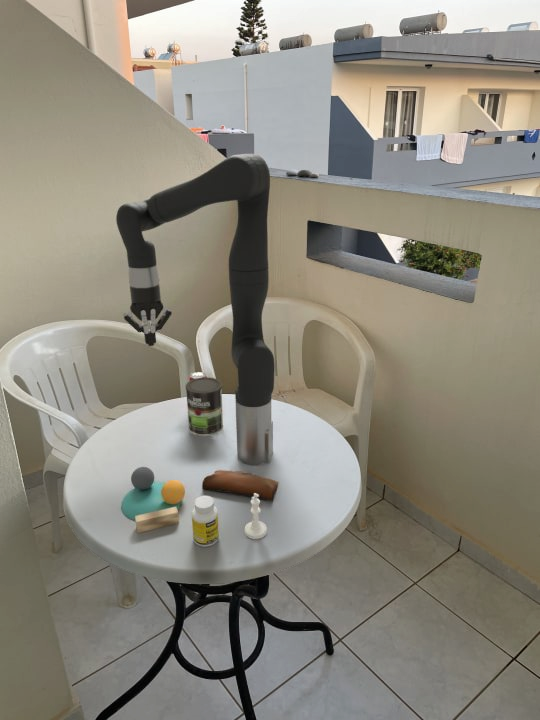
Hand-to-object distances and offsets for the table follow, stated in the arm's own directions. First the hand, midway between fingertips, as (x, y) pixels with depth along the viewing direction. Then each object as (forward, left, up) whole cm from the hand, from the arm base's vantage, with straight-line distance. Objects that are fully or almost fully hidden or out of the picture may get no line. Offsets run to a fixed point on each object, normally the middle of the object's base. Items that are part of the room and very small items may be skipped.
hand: (150, 344), depth 137 cm
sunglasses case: (-30, +21, -28) cm, 46 cm away
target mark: (-10, +31, -27) cm, 42 cm away
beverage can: (-8, -14, -27) cm, 32 cm away
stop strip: (-14, +38, -27) cm, 49 cm away
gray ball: (-6, +26, -24) cm, 36 cm away
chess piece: (-36, +36, -27) cm, 58 cm away
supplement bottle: (-26, +40, -27) cm, 55 cm away
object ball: (-15, +30, -24) cm, 41 cm away
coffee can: (-13, -4, -27) cm, 30 cm away
